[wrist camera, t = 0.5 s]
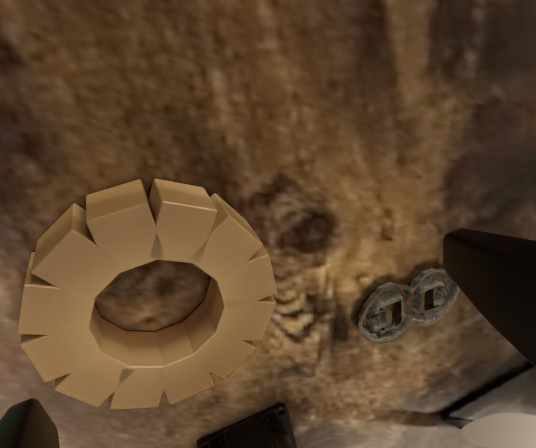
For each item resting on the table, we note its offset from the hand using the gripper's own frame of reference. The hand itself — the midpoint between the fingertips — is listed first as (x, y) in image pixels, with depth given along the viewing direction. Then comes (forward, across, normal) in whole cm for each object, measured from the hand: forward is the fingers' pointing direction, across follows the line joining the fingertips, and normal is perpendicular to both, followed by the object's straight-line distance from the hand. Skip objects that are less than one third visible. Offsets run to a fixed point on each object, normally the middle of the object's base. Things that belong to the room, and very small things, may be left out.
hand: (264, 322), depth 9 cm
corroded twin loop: (+13, -12, +15) cm, 23 cm away
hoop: (+13, +3, +7) cm, 15 cm away
